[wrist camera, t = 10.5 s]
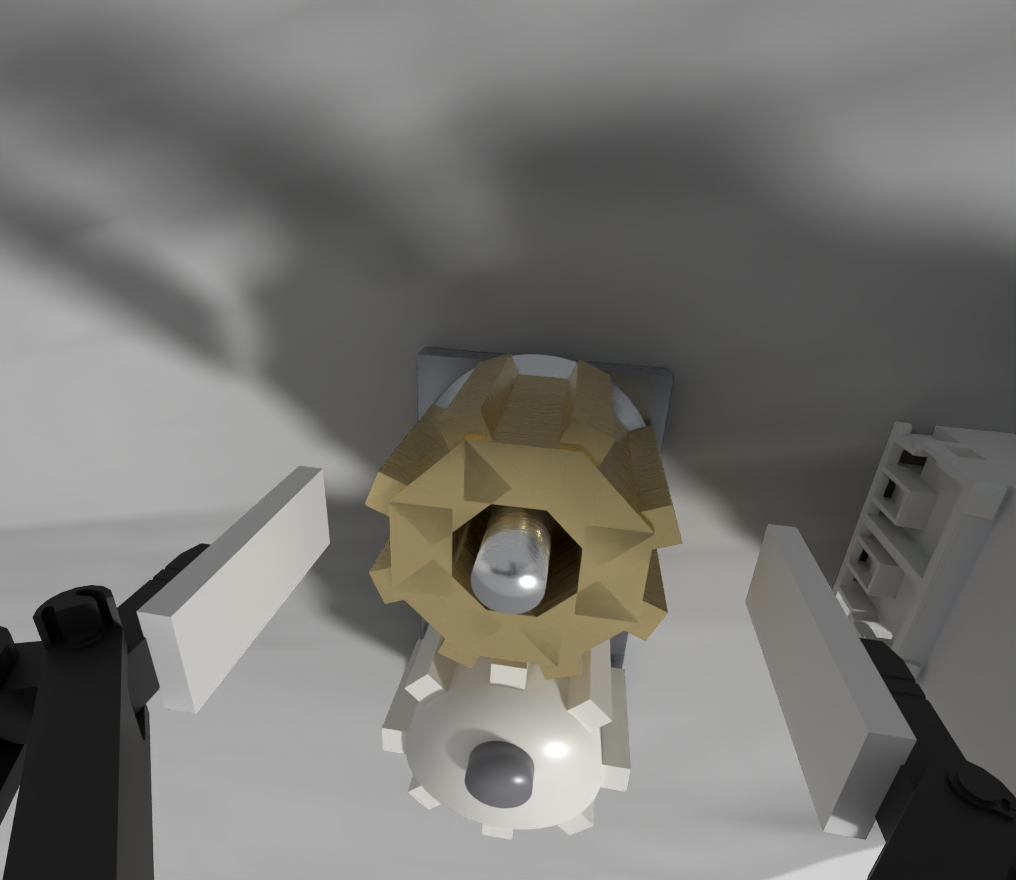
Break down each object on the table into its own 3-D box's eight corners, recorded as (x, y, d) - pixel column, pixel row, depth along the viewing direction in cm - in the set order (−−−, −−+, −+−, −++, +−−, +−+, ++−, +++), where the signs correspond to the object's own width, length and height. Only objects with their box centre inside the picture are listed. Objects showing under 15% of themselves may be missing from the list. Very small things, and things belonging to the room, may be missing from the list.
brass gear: (675, 365, 19) (707, 434, 13) (637, 578, 22) (651, 700, 17) (421, 343, 20) (354, 399, 14) (423, 550, 23) (371, 658, 18)
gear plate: (672, 357, 20) (716, 451, 12) (608, 724, 27) (612, 917, 20) (424, 336, 21) (332, 412, 13) (428, 696, 28) (370, 869, 21)
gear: (637, 592, 22) (650, 713, 17) (609, 748, 26) (612, 887, 21) (417, 562, 23) (366, 669, 18) (420, 717, 27) (378, 842, 22)
